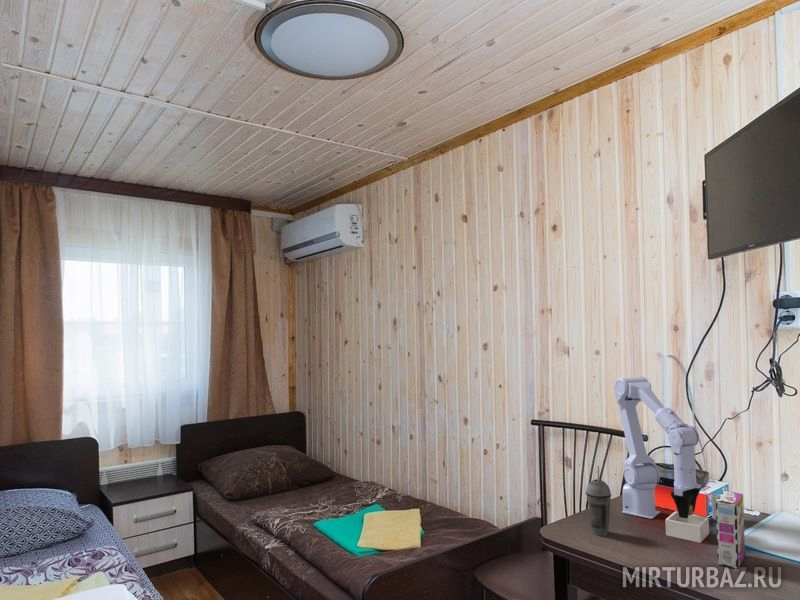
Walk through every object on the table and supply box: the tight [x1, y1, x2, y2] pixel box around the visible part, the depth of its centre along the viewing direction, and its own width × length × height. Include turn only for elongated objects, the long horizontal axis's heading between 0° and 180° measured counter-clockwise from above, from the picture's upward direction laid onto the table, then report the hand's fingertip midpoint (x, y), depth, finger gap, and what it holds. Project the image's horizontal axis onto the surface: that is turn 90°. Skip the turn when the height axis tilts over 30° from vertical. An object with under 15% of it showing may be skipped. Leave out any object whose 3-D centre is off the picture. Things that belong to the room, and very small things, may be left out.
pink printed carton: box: [715, 490, 746, 570], centre depth 145 cm, size 11×5×16 cm, turn 141°
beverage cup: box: [585, 465, 612, 537], centre depth 166 cm, size 7×7×20 cm
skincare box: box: [710, 494, 721, 521], centre depth 173 cm, size 6×6×7 cm
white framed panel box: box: [664, 511, 710, 544], centre depth 164 cm, size 9×11×4 cm
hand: (686, 514), depth 163 cm, fingers open, 6 cm apart
